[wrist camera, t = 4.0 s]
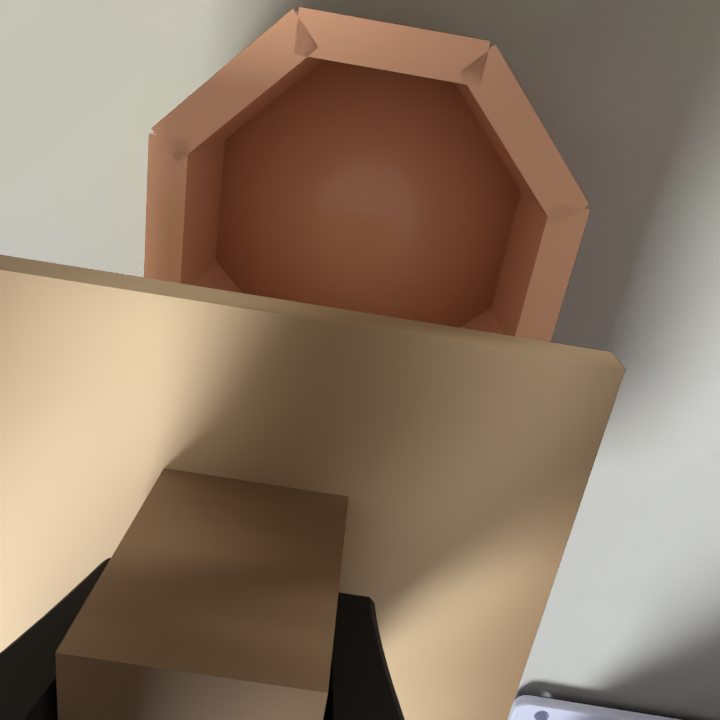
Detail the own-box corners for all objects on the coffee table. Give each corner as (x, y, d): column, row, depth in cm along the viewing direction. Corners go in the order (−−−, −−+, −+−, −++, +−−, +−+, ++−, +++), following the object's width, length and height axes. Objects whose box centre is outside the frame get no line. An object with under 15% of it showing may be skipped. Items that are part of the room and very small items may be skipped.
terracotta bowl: (578, 68, 16) (633, 66, 12) (490, 397, 20) (512, 471, 16) (209, 2, 16) (153, -20, 12) (188, 346, 20) (139, 409, 16)
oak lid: (611, 351, 11) (755, 529, 7) (468, 791, 15) (500, 1074, 11) (-55, 246, 11) (-353, 356, 6) (-11, 721, 15) (-173, 979, 11)
